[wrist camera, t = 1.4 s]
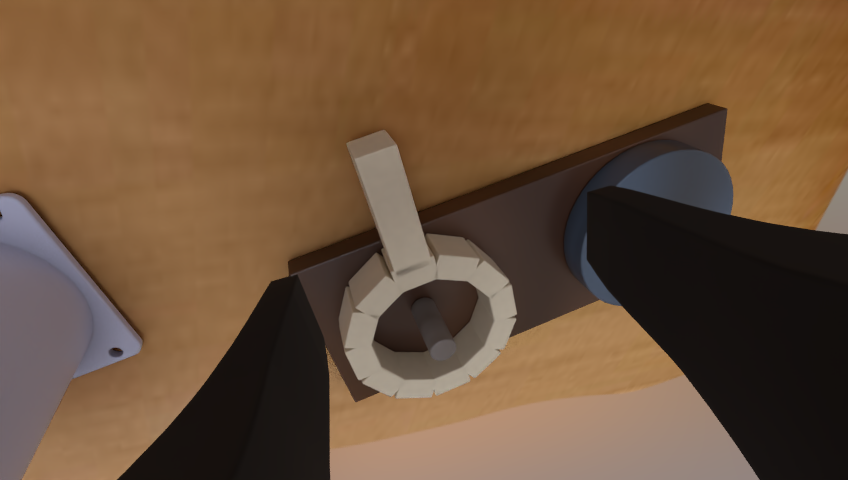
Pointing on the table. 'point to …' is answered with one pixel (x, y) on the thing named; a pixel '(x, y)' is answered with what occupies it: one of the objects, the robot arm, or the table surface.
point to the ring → (411, 267)
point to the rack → (525, 237)
